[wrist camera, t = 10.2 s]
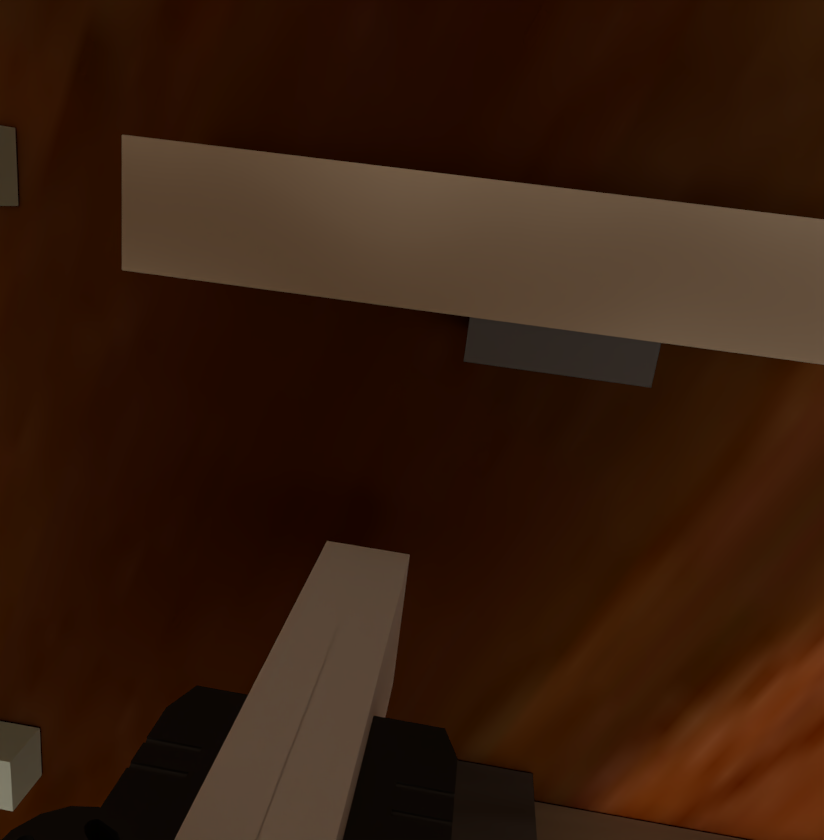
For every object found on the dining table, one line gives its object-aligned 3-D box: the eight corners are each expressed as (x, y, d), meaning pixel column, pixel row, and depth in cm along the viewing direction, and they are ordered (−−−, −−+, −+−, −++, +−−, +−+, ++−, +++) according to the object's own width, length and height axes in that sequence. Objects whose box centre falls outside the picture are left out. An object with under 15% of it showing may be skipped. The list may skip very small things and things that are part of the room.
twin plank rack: (209, 151, 14) (121, 134, 11) (1190, 270, 13) (1433, 293, 10) (188, 802, 19) (122, 931, 15) (904, 936, 18) (1001, 1108, 14)
